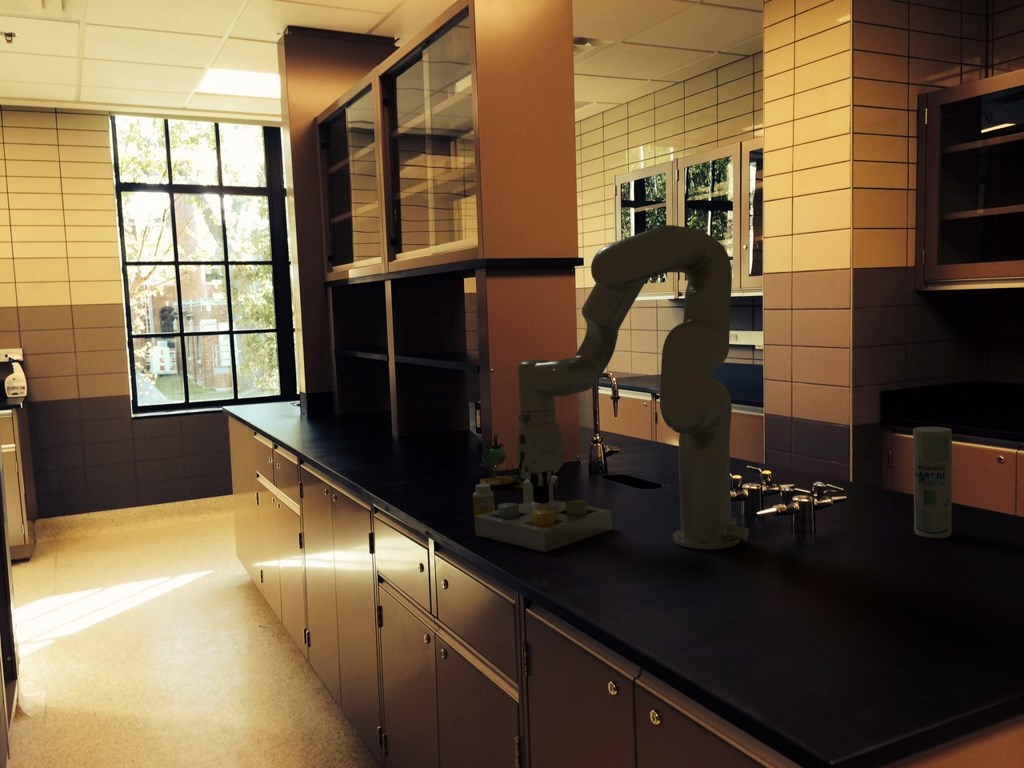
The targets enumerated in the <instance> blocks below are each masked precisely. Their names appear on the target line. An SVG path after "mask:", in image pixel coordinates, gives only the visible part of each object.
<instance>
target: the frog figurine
mask: <svg viewBox="0 0 1024 768" xmlns="http://www.w3.org/2000/svg"><path fill="white" fill-rule="evenodd" d="M498 438H499V437H498V434H497V433H495V434H494V435H493V445H492V446H491V448H490V447H489V445H488V444H486V445H485V446H484V447H483V450H484V454H485V456H486V459H485V460H484V456H481V460H482V462H483V463H481V462H480V463H479V467H482V466H485V465H486V464H487V463H490V465H492V468H493V469H492V471H493V473H492V477H488V478H480V479H479V484H489V485H490V487H493V486H500V485H501V486H502V485H508V484H515V483H514V482H516V485H511V486H510V488H515V489H519V490H521V489H522V490H523V482H522V478H521V476H519V474H518V473H517V470H516V469H514V466H513V463H512V458H511V456H507V455H506V453H505V451H504V449H503V448H504V444H503V443H502V442H499V443H498ZM508 458H509V459H510V460H509V459H508ZM505 460H507V462H508V463H507V466H506V470H509V463H511V469H512V468H513V469H514V474H511V476H510V475H500V474H499V471H500V470H501V471H502V472H505V470H504V469H503V468H499V466H500V465H503V464H504V462H505ZM498 468H499V469H498Z"/></svg>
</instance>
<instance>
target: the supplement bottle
mask: <svg viewBox="0 0 1024 768" xmlns="http://www.w3.org/2000/svg"><path fill="white" fill-rule="evenodd" d="M474 487H475V492H473V494H472V500H473V501H472V502H473V503H472V504H473V519H474V522H475V517H474V516H478V515H481V514H485V513H489V512H492V511H496V509H495V495H494V492H493V491H492V490H491V486H490V485H489V484H480V483H479V484H476V485H475V486H474Z"/></svg>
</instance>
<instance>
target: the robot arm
mask: <svg viewBox="0 0 1024 768" xmlns="http://www.w3.org/2000/svg"><path fill="white" fill-rule="evenodd" d="M590 265H591V266H590V272H591V273H590V274H591V276H592V278H593V281H594V282H595V284H594V286H593V288H592V289H591V291H590V293H589V295H588V297H587V298H586V300H585V302H584V303H583V306H582V307H581V315H582V317H583V318H584V320H585V323H586V331H585V332H586V333H585V334H584V338H583V340H582V342H581V345H580V346H579V348H578V350H577V352H576V353H575V355H574V357H567V358H564V359H563V358H562V359H558V360H552V361H551V360H549V359H548V360H547V359H527V360H524V361H521V362H520V363H519V364H518V367H517V370H518V371H517V373H518V374H517V375H518V377H517V378H518V399H519V415H518V418H517V419H518V421H519V422H520V423H519V424H520V425H519V426H518V431H517V432H518V433H517V442H516V443H517V444H516V455H517V456H516V459H517V467H518V468H517V469H518V470H519V471H520V479H521V480H522V479H524V480H526V479H528V480H529V481H530V483H531V484H533V500H534V502H536V503H541V504H545V503H548V502H549V484H550V482H551V477H552V475H553V474H554V475H555V474H557V472H559V470H560V468H562V467H563V466H564V449H563V440H562V439H563V438H562V433H561V429H560V425H559V422H557V420H556V398H555V397H567V396H572V395H575V394H579V393H583V392H587V391H589V390H591V389H592V388H593V387H594V386H595V385H596V384H597V383H598V382H599V380H600V379H601V377H602V375H603V374H604V372H605V370H606V369H607V367H608V365H609V364H610V362H611V360H612V357H613V355H614V353H615V349H616V345H617V341H618V336H619V330H620V328H621V326H622V325H623V322H624V321H625V319H626V317H627V315H628V313H629V311H630V310H631V308H632V306H633V305H634V303H635V301H636V300H637V298H638V296H639V295H640V293H641V291H642V289H643V287H644V286H645V284H646V283H647V281H648V279H650V278H654V277H655V278H656V277H657V276H661V275H665V274H668V273H683V274H685V275H686V277H687V284H686V287H685V288H686V289H685V292H684V298H683V299H684V300H683V301H684V302H683V303H684V305H683V306H684V307H683V310H684V311H683V319H682V322H681V323H679V324H678V325H676V326H674V327H673V328H672V329H671V330H670V331H669V332H668V333H667V335H666V337H665V339H664V342H663V346H662V350H661V361H660V362H661V364H660V365H661V366H660V385H659V387H660V390H659V408H660V415H661V417H662V420H663V422H664V423H665V425H666V426H667V427H668V428H669V429H671V430H672V431H674V432H675V433H677V434H679V436H678V477H679V478H678V481H679V483H678V485H679V512H680V515H679V516H680V529H678V530H676V531H675V532H674V533H673V534H672V541H673V543H675V544H676V545H678V546H681V547H683V548H688V549H694V550H707V551H708V550H723V549H727V548H728V549H729V548H732V547H735V546H738V544H739V543H740V542H741V541H744V542H745V541H747V540H748V538H749V532H750V531H749V530H750V529H749V527H744V526H738V525H737V518H735V517H732V505H731V504H732V502H731V499H732V497H731V496H732V495H731V470H730V469H731V465H730V464H731V462H730V461H731V456H730V455H731V454H730V453H731V448H730V443H731V442H730V441H731V439H730V436H731V424H732V423H731V422H732V409H733V408H732V407H733V406H732V405H733V404H732V398H731V395H730V392H729V390H728V389H727V387H726V386H725V385H724V383H722V382H721V381H720V380H718V379H716V378H714V377H713V376H714V375H713V374H714V369H717V368H718V367H720V366H722V364H724V362H725V361H726V360H727V358H728V356H729V353H730V335H731V334H730V333H731V332H730V330H731V317H732V316H731V314H732V313H731V311H732V310H731V308H732V307H731V306H732V304H731V303H732V302H731V301H732V285H733V269H732V262H731V259H730V256H729V254H728V252H727V250H726V249H725V246H724V245H722V243H721V242H720V241H719V240H717V239H716V238H715V237H713V236H712V235H710V234H708V233H707V232H705V231H702V230H699V229H696V228H692V227H687V226H681V225H674V224H673V225H672V224H666V225H659V226H656V227H653V228H650V229H647V230H645V231H642V232H640V233H637V234H634V235H631V236H628V237H625V238H623V239H620V240H617V241H615V242H612V243H609V244H607V245H604V247H602V248H600V249H599V250H598V251H597V252H596V253H595V255H594V256H593V259H592V262H591V264H590ZM554 475H553V476H554Z"/></svg>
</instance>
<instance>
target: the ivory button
mask: <svg viewBox="0 0 1024 768" xmlns="http://www.w3.org/2000/svg"><path fill="white" fill-rule="evenodd" d="M532 508H534V509H539V510H545V509H548V508H552V501H549V502H548V503H545V504H541V503H536V502H532Z"/></svg>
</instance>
